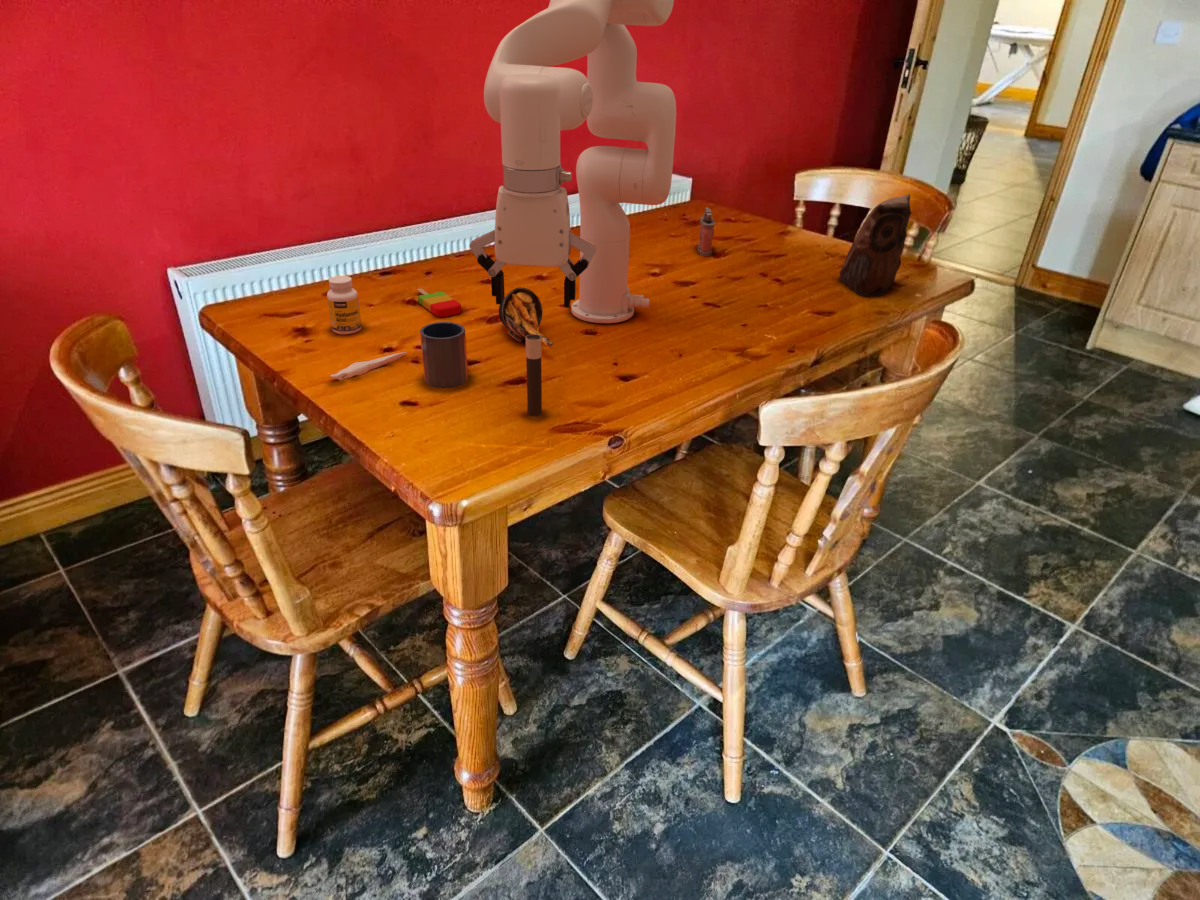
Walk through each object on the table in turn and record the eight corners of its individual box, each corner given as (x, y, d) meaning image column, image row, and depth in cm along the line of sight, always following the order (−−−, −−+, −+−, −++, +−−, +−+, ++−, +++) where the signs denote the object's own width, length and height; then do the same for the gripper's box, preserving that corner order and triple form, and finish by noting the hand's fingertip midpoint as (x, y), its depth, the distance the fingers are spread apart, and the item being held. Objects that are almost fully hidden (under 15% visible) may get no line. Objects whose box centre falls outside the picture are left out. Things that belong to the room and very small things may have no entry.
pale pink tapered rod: (336, 386, 128) (334, 376, 127) (327, 381, 129) (325, 371, 128) (412, 359, 137) (411, 349, 136) (402, 354, 139) (401, 344, 138)
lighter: (713, 255, 193) (717, 214, 188) (699, 255, 193) (703, 214, 188) (709, 246, 200) (713, 206, 195) (696, 245, 200) (700, 205, 195)
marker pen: (543, 412, 122) (542, 334, 116) (541, 419, 120) (540, 340, 114) (528, 411, 122) (526, 333, 116) (526, 418, 120) (524, 339, 114)
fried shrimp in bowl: (529, 294, 153) (585, 290, 139) (521, 350, 154) (576, 352, 140) (488, 283, 148) (542, 279, 134) (480, 342, 148) (533, 344, 134)
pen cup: (471, 372, 134) (468, 322, 129) (463, 391, 128) (459, 339, 123) (430, 370, 134) (426, 320, 129) (420, 389, 128) (415, 337, 123)
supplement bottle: (335, 337, 145) (327, 285, 139) (329, 326, 149) (321, 276, 144) (365, 332, 147) (358, 281, 142) (358, 322, 151) (351, 272, 146)
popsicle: (438, 319, 153) (438, 309, 152) (406, 295, 164) (406, 287, 163) (464, 313, 156) (463, 304, 155) (431, 291, 167) (430, 282, 166)
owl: (892, 280, 181) (913, 191, 171) (907, 300, 170) (930, 206, 160) (837, 278, 182) (854, 188, 171) (848, 297, 171) (867, 203, 160)
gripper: (599, 175, 106) (596, 295, 115) (471, 169, 107) (478, 290, 116) (595, 188, 100) (592, 315, 109) (460, 183, 101) (468, 309, 110)
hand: (533, 302), depth 113 cm, fingers open, 9 cm apart
